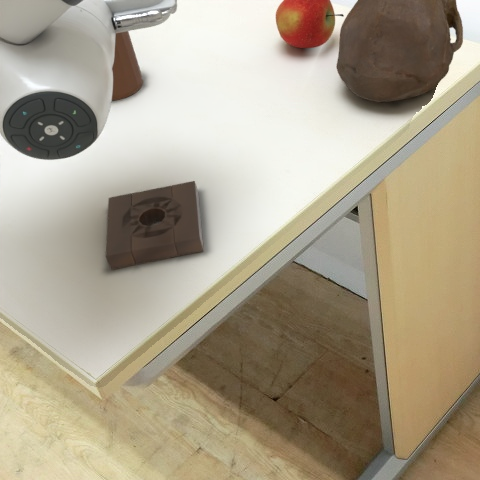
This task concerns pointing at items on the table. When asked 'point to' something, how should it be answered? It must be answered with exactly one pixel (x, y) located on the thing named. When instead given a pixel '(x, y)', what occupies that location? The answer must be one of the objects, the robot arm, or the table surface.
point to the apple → (305, 22)
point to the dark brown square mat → (155, 236)
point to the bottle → (125, 68)
